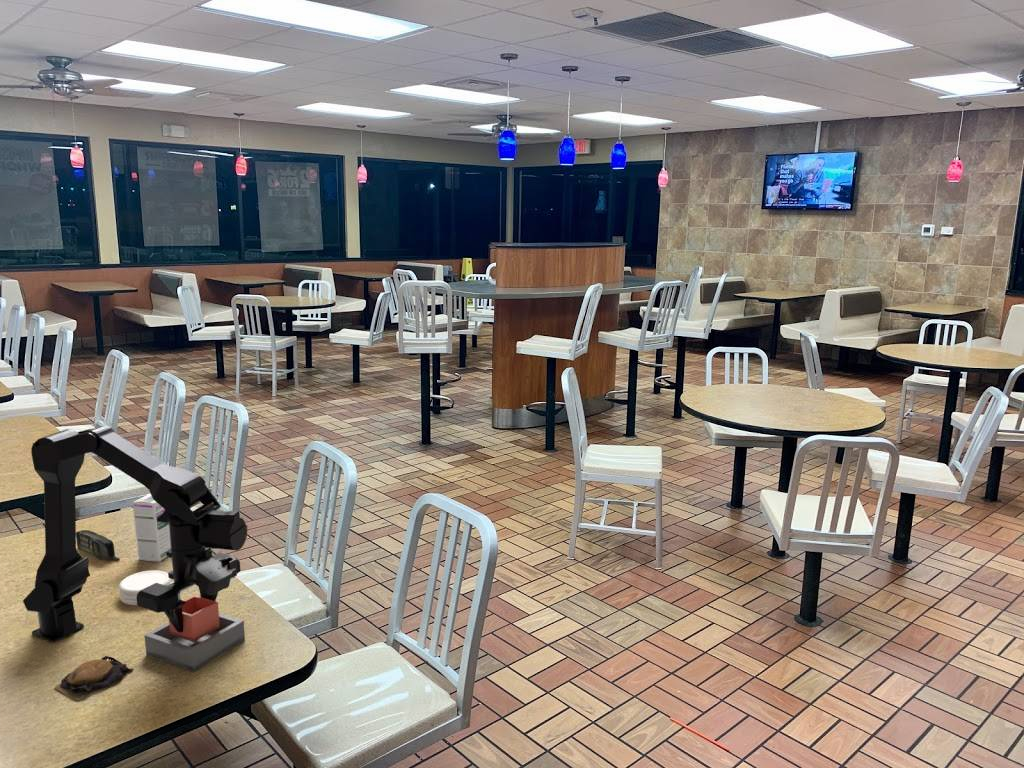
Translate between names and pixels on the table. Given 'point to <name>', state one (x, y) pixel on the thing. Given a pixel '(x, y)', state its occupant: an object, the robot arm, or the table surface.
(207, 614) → the small crate
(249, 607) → the table surface
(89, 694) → the bread roll
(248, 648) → the table surface
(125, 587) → the white round container
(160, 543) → the syrup box
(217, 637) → the big crate
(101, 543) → the mobile phone
